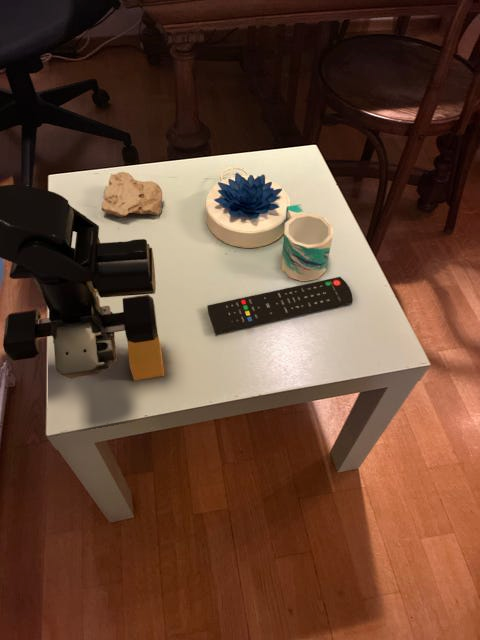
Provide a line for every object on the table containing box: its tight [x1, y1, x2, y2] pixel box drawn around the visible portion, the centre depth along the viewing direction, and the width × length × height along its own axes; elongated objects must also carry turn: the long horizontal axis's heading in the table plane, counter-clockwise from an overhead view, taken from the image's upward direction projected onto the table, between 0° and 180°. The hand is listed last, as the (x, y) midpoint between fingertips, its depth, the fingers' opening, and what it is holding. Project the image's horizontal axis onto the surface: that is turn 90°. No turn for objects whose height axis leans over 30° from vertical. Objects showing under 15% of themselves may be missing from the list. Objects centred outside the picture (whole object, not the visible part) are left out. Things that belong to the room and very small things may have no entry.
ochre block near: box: [127, 335, 165, 381], centre depth 72 cm, size 4×4×4 cm
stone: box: [101, 171, 163, 218], centre depth 91 cm, size 9×11×5 cm
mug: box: [280, 203, 334, 282], centre depth 84 cm, size 8×12×8 cm
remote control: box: [206, 276, 354, 335], centre depth 80 cm, size 5×24×1 cm, turn 106°
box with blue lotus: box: [205, 166, 291, 249], centre depth 91 cm, size 7×16×20 cm
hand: (96, 359), depth 69 cm, fingers closed
